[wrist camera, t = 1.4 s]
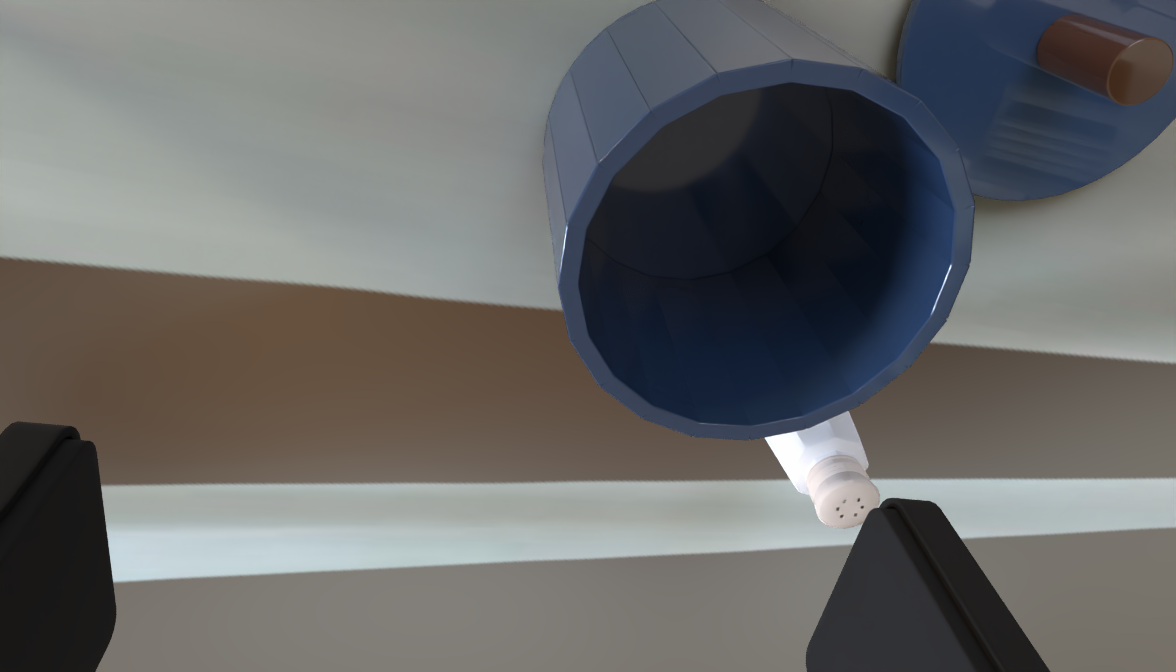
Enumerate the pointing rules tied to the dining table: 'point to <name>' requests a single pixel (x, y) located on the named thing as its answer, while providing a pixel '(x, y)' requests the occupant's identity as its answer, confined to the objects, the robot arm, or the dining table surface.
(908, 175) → the pot
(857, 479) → the salt shaker
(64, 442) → the robot arm
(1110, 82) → the lid
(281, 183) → the dining table surface
